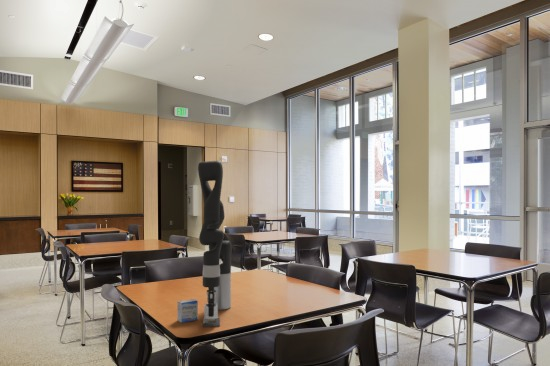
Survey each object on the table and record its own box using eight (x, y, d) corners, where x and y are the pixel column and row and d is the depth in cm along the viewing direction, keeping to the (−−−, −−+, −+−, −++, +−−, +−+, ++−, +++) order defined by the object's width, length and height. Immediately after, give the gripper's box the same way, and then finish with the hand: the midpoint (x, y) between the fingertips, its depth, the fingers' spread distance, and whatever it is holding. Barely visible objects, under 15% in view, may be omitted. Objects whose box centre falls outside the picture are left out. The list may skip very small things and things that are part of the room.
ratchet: (203, 316, 179) (203, 307, 179) (219, 315, 180) (219, 307, 180) (203, 327, 164) (203, 317, 164) (219, 326, 165) (219, 316, 166)
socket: (204, 315, 171) (204, 303, 171) (217, 314, 171) (217, 303, 172) (204, 318, 165) (204, 306, 165) (217, 318, 166) (217, 306, 166)
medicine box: (181, 323, 170) (181, 303, 170) (177, 320, 173) (177, 301, 174) (197, 320, 174) (197, 300, 175) (193, 317, 178) (193, 298, 178)
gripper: (220, 277, 163) (220, 318, 162) (219, 272, 177) (219, 309, 176) (202, 278, 162) (201, 319, 161) (203, 272, 176) (202, 310, 175)
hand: (211, 314), depth 168 cm, fingers closed on socket, 5 cm apart
